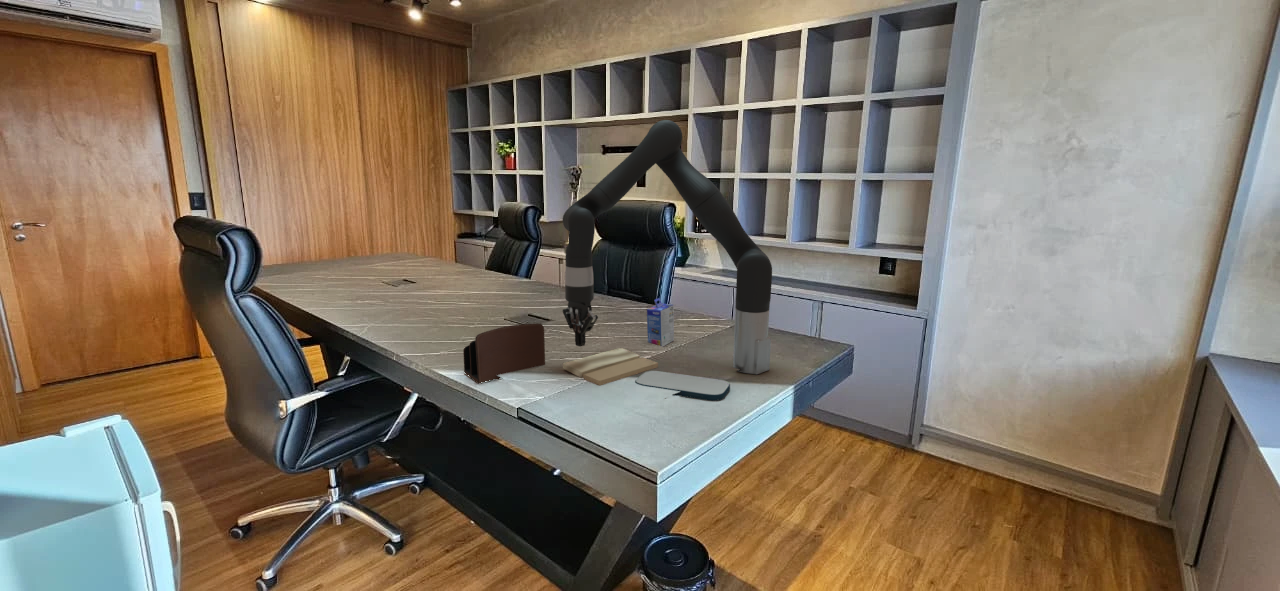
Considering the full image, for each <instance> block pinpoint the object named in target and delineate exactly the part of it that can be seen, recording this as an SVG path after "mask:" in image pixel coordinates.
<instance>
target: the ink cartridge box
mask: <svg viewBox="0 0 1280 591" xmlns="http://www.w3.org/2000/svg"><path fill="white" fill-rule="evenodd" d="M653 302H654V304H655V305H654V306H651V307H649V308H647V309H646V318H647V319H646V323H647V324H646V325H647V343H649V344H653V345H656V346H660V347H665V346H667V345H669V343H672V342H674V340H675V312H674V310H675V309H674V308H675V305H674V304H671V303H662V301H661V299H660V297H658V298H655V299H654V300H653ZM658 302H659V303H658Z"/></svg>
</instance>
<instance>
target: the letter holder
mask: <svg viewBox="0 0 1280 591" xmlns="http://www.w3.org/2000/svg"><path fill="white" fill-rule="evenodd" d="M545 342H546V341H545V327H544V325H543V324H542V323H537V322H536V323H522V324H512V325H506V326H502V327H501V326H500V327H497V328H494V329H490V330H487V331H484V332H481V333H478V334H477V335H476V336H475V339H474V340H472V341H471V342H470V343H469V344H468V345H466V346H465V347H463V351H462V352H463V355H462V356H463V367H464V368H463V373H464V372H465V373H466V374H467V375H469V376H470V377H471V378H473V379H474V380H475V382H476V381H477V382H478V383H477V382H476V383H477V384H479V383H481V382H485V381H489V380H493V379H498V380H500V379H499V378H502V377H501V376H500V375H504V374H505V375H506V374H508V373H513V372H518V371H522V370H527V369H532V368H537V367H540V366H545V365H546V347H545V345H546V343H545ZM466 374H465V375H466ZM467 375H466V376H467ZM470 377H469V378H470ZM471 378H470V379H471ZM473 379H472V380H473ZM474 380H473V381H474ZM489 382H490V381H489ZM485 383H486V382H485ZM481 384H482V383H481Z"/></svg>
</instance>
